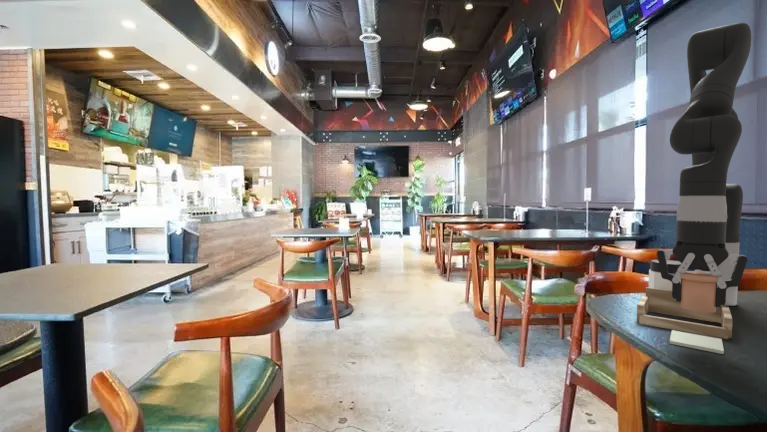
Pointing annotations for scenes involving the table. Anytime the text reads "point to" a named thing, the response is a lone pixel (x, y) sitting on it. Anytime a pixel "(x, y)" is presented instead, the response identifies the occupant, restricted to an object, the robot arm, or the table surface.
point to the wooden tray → (681, 315)
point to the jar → (655, 274)
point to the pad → (697, 341)
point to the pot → (698, 291)
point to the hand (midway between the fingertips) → (697, 303)
